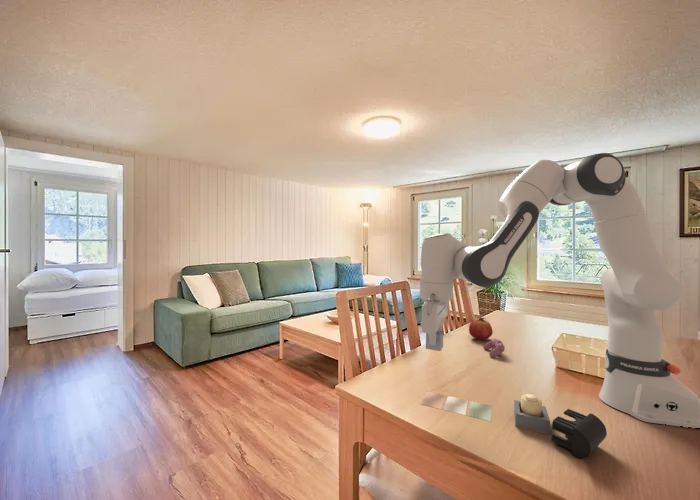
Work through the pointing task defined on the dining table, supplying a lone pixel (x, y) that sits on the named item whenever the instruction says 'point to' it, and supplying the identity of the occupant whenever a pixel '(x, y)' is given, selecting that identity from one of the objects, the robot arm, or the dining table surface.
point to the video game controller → (495, 347)
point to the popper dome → (531, 405)
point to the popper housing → (531, 419)
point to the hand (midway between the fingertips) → (434, 341)
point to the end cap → (579, 433)
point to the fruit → (480, 329)
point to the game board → (458, 405)
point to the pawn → (439, 344)
